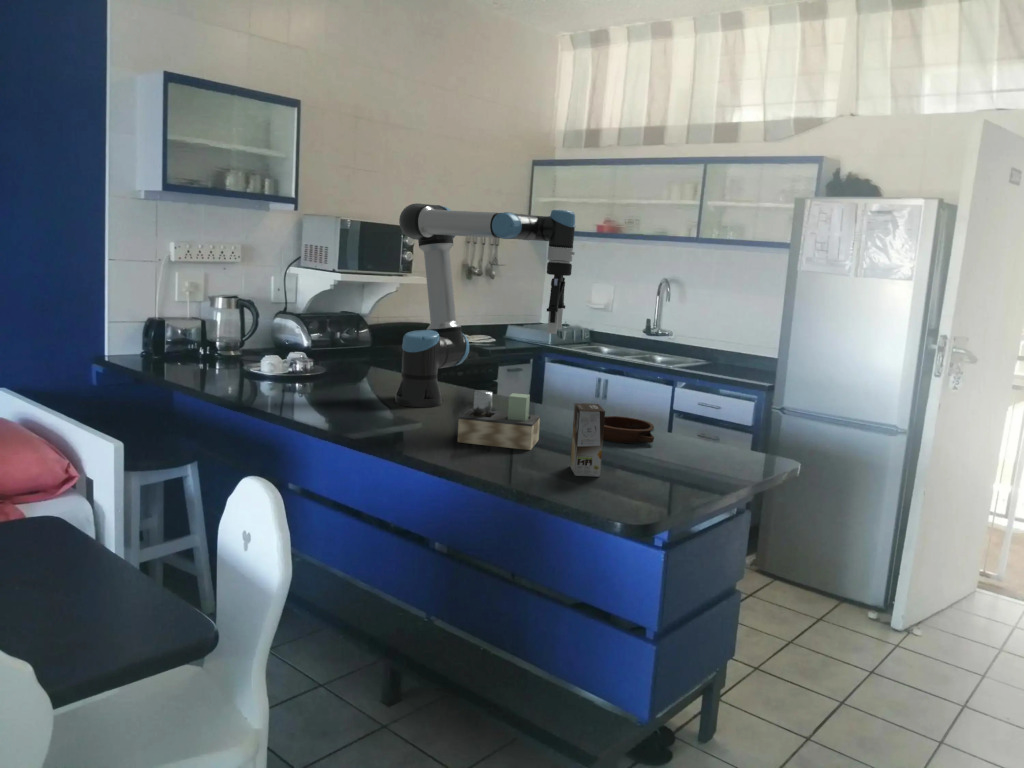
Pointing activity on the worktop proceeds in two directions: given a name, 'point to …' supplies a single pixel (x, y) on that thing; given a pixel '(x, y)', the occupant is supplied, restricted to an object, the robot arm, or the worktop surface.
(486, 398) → the metal peg
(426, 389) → the robot arm
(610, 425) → the dish
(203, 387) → the worktop surface
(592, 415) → the coffee box
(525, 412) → the sage peg
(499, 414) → the socket block
